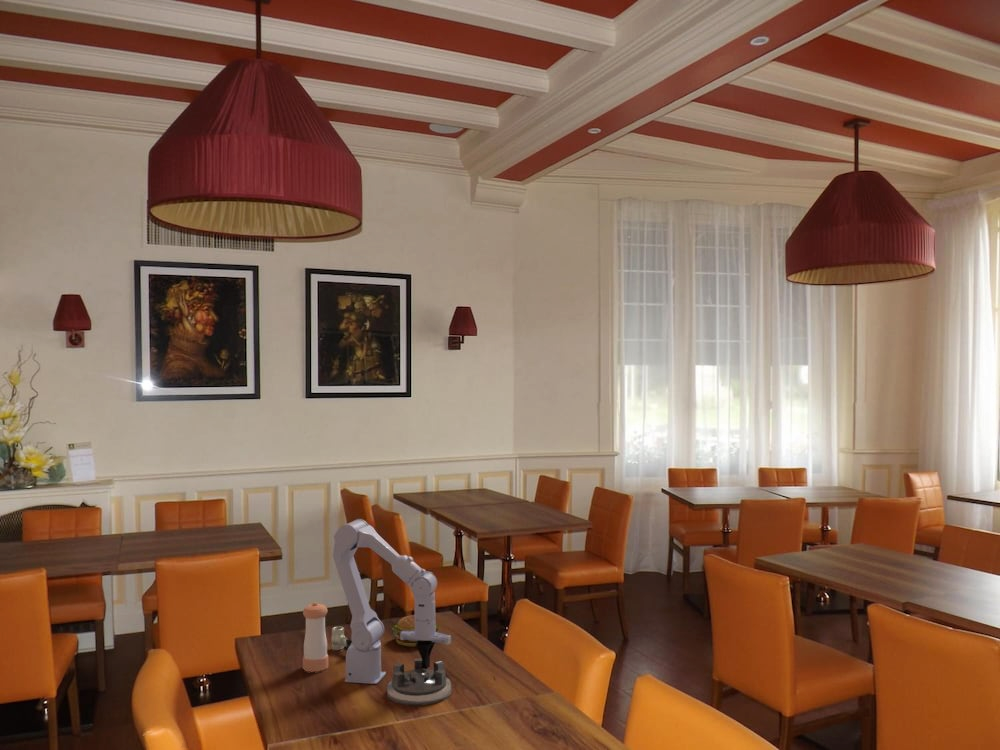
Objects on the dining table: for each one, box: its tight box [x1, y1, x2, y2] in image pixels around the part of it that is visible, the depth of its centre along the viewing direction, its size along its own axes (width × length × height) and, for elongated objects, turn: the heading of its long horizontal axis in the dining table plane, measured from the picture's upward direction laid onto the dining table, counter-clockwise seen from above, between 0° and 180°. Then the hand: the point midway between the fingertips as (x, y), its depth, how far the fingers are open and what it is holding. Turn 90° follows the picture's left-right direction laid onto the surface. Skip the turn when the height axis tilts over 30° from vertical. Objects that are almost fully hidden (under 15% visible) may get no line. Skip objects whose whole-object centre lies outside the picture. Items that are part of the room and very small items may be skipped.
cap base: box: [386, 677, 452, 707], centre depth 204 cm, size 17×17×2 cm
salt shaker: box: [302, 601, 329, 672], centre depth 223 cm, size 7×7×19 cm
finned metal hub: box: [391, 657, 448, 695], centre depth 204 cm, size 15×15×4 cm
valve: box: [330, 626, 353, 652], centre depth 236 cm, size 7×7×12 cm
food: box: [391, 614, 439, 648], centre depth 245 cm, size 14×14×8 cm
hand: (425, 667), depth 211 cm, fingers closed, pressing on finned metal hub
